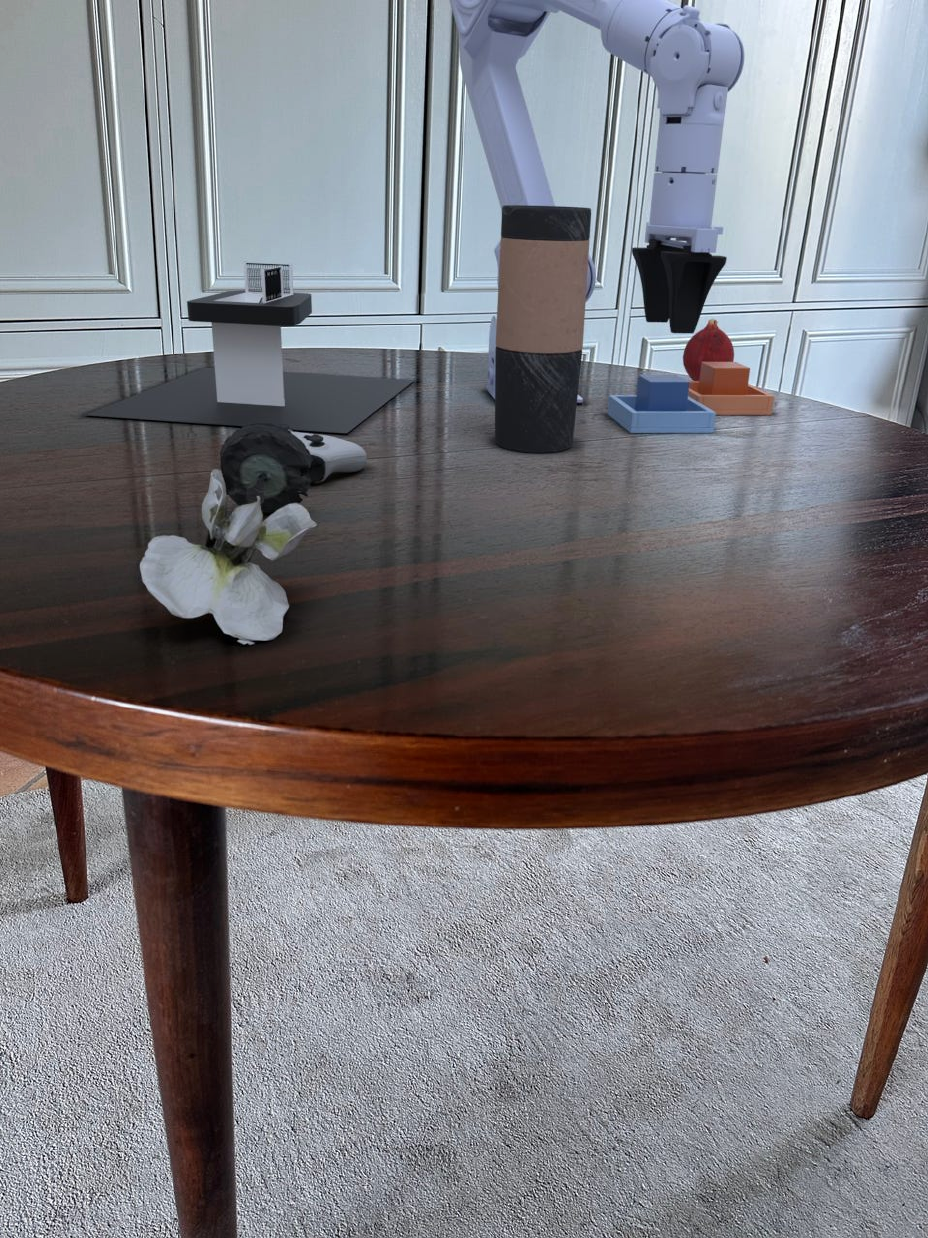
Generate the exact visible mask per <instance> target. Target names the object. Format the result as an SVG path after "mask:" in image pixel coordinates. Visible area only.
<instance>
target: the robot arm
mask: <svg viewBox="0 0 928 1238" xmlns="http://www.w3.org/2000/svg"><path fill="white" fill-rule="evenodd" d="M448 1H449V4H450V8H451V11H452V15H453V18H454V21H455V24H456V28H457V32H458V50H459V51H458V53H459V66H460V70H461V75H462V79H463V82H464V85H465V89H466V92H467V96H468V99H469V102H470V103H469V104H470V107H471V109H472V112H473V113H472V114H473V116H474V120H475V123H476V127H477V130H478V134H479V138H480V141H481V144H482V148H483V151H484V155H485V158H486V161H487V165H488V168H489V172H490V175H491V179H492V183H493V186H494V189H495V193H496V196H497V199H498V203H499V206H500V207H499V208H500V209H501V211H502V206H504V205H529V206H556V204H555V201H554V198H553V194H552V191H551V187H550V184H549V183H550V182H549V180H548V177H547V172H546V170H545V166H544V161H543V159H542V156H541V152H540V149H539V145H538V141H537V138H536V135H535V131H534V128H533V124H532V120H531V116H530V113H529V110H528V106H527V103H526V99H525V96H524V93H523V88H522V85H521V81H520V79H519V75H518V71H517V65H518V62H519V60H520V59H522V58H523V57H525V56H526V54H527V52H528V50H529V49H530V47H531V46H532V45H533V42H534V41H535V39H536V37H537V36H538V34H539V33H540V32H541V29H542V28H543V26H544V24H545V23H546V22H547V20H548V18H549V17H550V14H551V13H552V14H558V13H559V12H563V13H565V14H566V15H569V16H571V17H573V18H575V19H577V20H579V21H581V22H583V23H585V24H587V25H589V26H591V27H593V28H596V29H597V30H600V38H601V39H600V40H601V43H602V45H603V48H604V49H605V51H606V52H608V53H609V54H610V55H612V56H614V57H616V58H618V59H619V60H622V61H623V62H625V63H627V64H628V65H630V66H631V67H634V68H635V69H637V70H639V71H641V72H643V73H644V74H646V75H647V76H649V77H651V78H652V81H653V84H654V85H655V87H656V90H657V93H658V94H657V106H656V108H657V109H659V119H658V129H657V141H656V150H655V151H656V152H655V161H654V169H653V170H654V171H653V179H652V181H653V182H652V189H651V200H650V212H649V221H646V222H645V223H646V224H645V235H644V243H645V244H647V245H646V247H635V246H634V247H631V253H632V256H633V258H634V261H635V264H636V267H637V271H638V274H639V279H640V284H641V292H642V300H643V310H644V316H645V322H646V323H664V324H665V323H667V324H668V323H669V330H670V333H672V334H693V335H694V333H695V331H696V328H697V325H698V323H699V321H700V318H701V315H702V311H703V308H704V305H705V304H706V301H707V298H708V296H709V293H710V290H711V288H712V286H713V284H714V283H715V281H716V279H717V278H718V276H719V274H720V273H721V271H722V270H723V269H724V267H725V266H726V263H727V256H724V255H713V254H714V253H716V252H717V245H718V239H719V235H723V233H724V226H719V225H713V224H712V223H713V216H714V208H715V199H716V191H717V182H718V174H719V166H720V158H721V150H722V140H723V133H724V127H725V125H724V124H725V117H726V107H727V102H728V101H727V100H728V93H729V92H731V90H732V89H733V88H735V85H736V84H737V83H738V81H739V79H740V77H741V75H742V72H743V69H744V65H745V48H744V44H743V41H742V39H741V37H740V36H739V35H738V33H737V32H736V31H735V30H733V29H732V28H731V26H730V25H729V24H727V23H722V22H721V23H720V22H719V23H711V22H707V21H702V20H701V19H700V14H701V11H700V9H698V8H696V7H694V6H692V5H687V4H686V5H684V6H683V8H682V7H680V6H678V5H676V4H674V3H672V2H671V1H668V0H448ZM500 242H501V239H499V241H498V242H497V244H496V245H495V247H494V249H493V252H494V256H495V259H496V264H497V280H496V281H497V285H498V284H499V263H500ZM712 253H713V254H712ZM596 282H597V272H596V267H595V263H594V260H593V258H592V257H591V255H589V256H588V272H587V287H586V303H587V302H588V301H589V300H590V298H591V297H592V295H593V294H594V290H595V286H596ZM496 325H497V314H494V315H493V316H492V317H491V321H490V326H489V335H488V358H487V359H488V360H487V361H488V363H487V385H486V388H485V389H486V391H487V392H488V393H489V394H490V396H491V397H492V398H493V399H494V400H495V350H496ZM583 402H584V398H583V397H582V396H580V395H579V394H578V398H577V404H582V403H583Z"/></svg>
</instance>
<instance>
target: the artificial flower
mask: <svg viewBox="0 0 928 1238" xmlns="http://www.w3.org/2000/svg"><path fill="white" fill-rule="evenodd" d="M219 455H220V458H219V461H220V466H219V468H220V469H217V468H213V469H212V471H211V472H210V477H209V484H208V485H209V486H208V490H207V493H206V495H205V497H204V498H203V501H202V504H201V518H202V521H203V523H204V525H205V527H206V529H207V533H206V537H205V544H200V543H198V544H197V543H193V542H192V543H191V542H190V541H188V539H187V538H185V537H181V536H178V535H174V534H173V535H172V534H171V535H166V534H165V535H158V536H154V537H153V538H152V539H151V540H150V541H149V542H148V543H147V549H146V550H145V552H144V556H143V557H142V559H141V561H140V563H139V570H140V574H141V581H142V583H143V584H144V585H145V587H146V589H147V592H149V593H150V594H151V595H152V597H154V598H155V599H156V600H157V601H158V602H159V603H160V604H162V605H163V606H164V607H165V608H166V609H167V610H168V612H169V613H170V614H171V615H173V616H175V617H178V618H180V619H194V618H198V617H201V616H204V615H206V614H212V615H213V617H214V620H215V622H216V624H217V625H218V628H220V630H221V631H222V632H223V634H225V635H229V636H231V637H233V638H238V640H237V642H238V643H240V644H242V645H246V644H248V645H249V646H251V645H255V641H257V642H258V641H259V642H263V641H272V640H274V639H276V638H277V637H278V636H279V635H280V634H281V633H282V632H283V627H284V626H283V624H284V617H285V614H286V613H287V611H288V610H289V608H290V604H289V602H288V598H287V593H286V591H285V589H284V588H283V587H282V586H281V584H280V583H279V582H278V581H275V580H273V579H271V577H270V576H269V575H267V574H266V573H265V572H264V571H263V570H262V569H261V568H260V565H258V564H256V563H253V562H251V559H252V557H253V555H254V553H255V552H256V550H258V551H259V552H260V553H261V555H262V556H264V557H265V558H267V559H269V560H270V561H273V562H274V561H275V560H278V559H279V558H282V557H283V556H288V555H289V554H290V553H291V552H293V550H295V549H296V548H297V547H298V545H299V544H300V542H301V540H302V539H303V538H304V537H305V536H306V535H307V534H308V533H309V532H310V531H311V530H313V529H314V528H316V527H317V526H318V524H317V522H316V521H314V520H313V519H312V518H311V515H310V512H309V511H308V509H307V508H306V507H305V506H304V505H302V504H301V503H302V502H303V498H302V497H301V495H302V496H304V497H305V498H306V497H307V498H308V496H309V494H308V491H309V489H313V487H312V486H311V484H312V483H311V479H310V476H311V475H310V474H309V473H308V474H307V473H306V474H304V475H301V472H300V471H299V469H301V468H305V467H308V468H310V466H311V462H312V461H313V458H312V456H311V455H310V452H309V450H308V449H307V448H306V446H305V444H304V443H302V441H301V440H300V439H298V438H297V437H296V436H295V435H293V434H292V433H291V432H290V431H287V430H285V429H283V428H282V427H281V426H280V427H279V426H276V425H274V424H271V423H254V424H250V425H246V426H241V428H239V429H236V430H235V431H233V433H232V435H230V436H228V437H227V438H226V439H225V441H224V443H223V444H221V449H220V452H219ZM227 496H228V497H229V498H230V499H231V500H232V501H233V502H234V503H235V504H236V505H238V506H237V507H235V508H234V509H233V511H232V512H231V513H230V515H229V516H228V513H227V510H228V509H227ZM263 512H273V513H271V514H270V515H268V516H267V517H266V518H265V519H263V518H264V514H263Z"/></svg>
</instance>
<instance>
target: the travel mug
mask: <svg viewBox="0 0 928 1238" xmlns="http://www.w3.org/2000/svg"><path fill="white" fill-rule="evenodd" d="M591 222H592V208H590V207H584V206H583V207H581V206H563V205H562V206H560V205H559V206H558V205H555V206H529V205H504V206H502V210H501V224H500V240H501V242H500V263H499V284H498V283H497V307H496V315H497V325H496V350H495V399H494V442H495V444H496V445H497V446H499V447H500V448H502V449H506V450H510V451H514V452H520V453H531V454H545V453H546V454H547V453H549V454H550V453H557V452H563V451H566V450H570V448H572V446H573V443H574V436H575V435H574V434H575V426H576V425H575V424H576V416H577V406H578V403H577V398H578V395H579V387H580V377H581V367H582V360H583V359H582V358H583V346H584V332H585V318H586V316H585V315H586V303H587V302H586V287H587V272H588V256H590V255H589V254H590V239H591V224H592V223H591Z"/></svg>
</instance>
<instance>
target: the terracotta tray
mask: <svg viewBox="0 0 928 1238" xmlns="http://www.w3.org/2000/svg"><path fill="white" fill-rule="evenodd" d="M687 381H688V382H689V383H690V384H689V392H688V396H689V397H690V398H692V399H694V400H695V401H697V402H699V403H701V404H702V405H704V406H706V407H707V408H709V409H711V410H713V411H714V412H716V416H772V415H773V409H774V403H775V395H773V394H771V393H770V392H767V391H764V390H763V389H760V388H758V387H756V386H754V385H752V384H750V383H748V388H747V395H701V394H699V393H698V387H699V381H693V380H687Z"/></svg>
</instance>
